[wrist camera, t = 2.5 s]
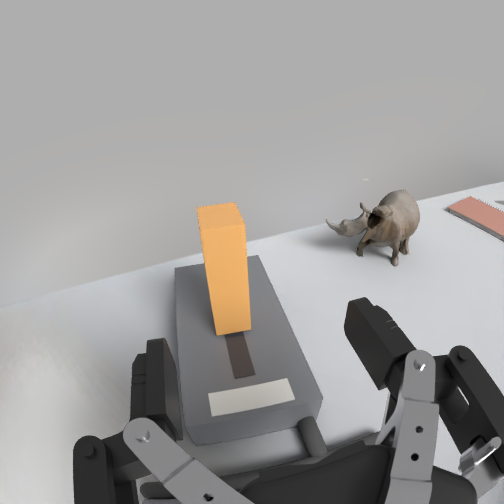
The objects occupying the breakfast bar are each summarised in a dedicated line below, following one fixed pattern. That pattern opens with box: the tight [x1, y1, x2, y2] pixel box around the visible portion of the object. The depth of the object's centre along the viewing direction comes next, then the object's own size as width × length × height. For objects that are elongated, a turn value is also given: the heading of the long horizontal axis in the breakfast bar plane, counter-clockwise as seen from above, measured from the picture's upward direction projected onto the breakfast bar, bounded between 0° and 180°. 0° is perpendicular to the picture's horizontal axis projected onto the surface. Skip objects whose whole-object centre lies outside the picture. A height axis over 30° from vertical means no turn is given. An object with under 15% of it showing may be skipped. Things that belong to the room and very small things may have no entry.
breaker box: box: [175, 255, 323, 446], centre depth 28 cm, size 10×20×4 cm, turn 13°
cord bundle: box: [140, 416, 380, 504], centre depth 18 cm, size 19×10×1 cm, turn 103°
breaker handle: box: [197, 202, 251, 335], centre depth 24 cm, size 3×4×10 cm
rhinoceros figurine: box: [326, 190, 420, 266], centre depth 41 cm, size 8×14×15 cm
